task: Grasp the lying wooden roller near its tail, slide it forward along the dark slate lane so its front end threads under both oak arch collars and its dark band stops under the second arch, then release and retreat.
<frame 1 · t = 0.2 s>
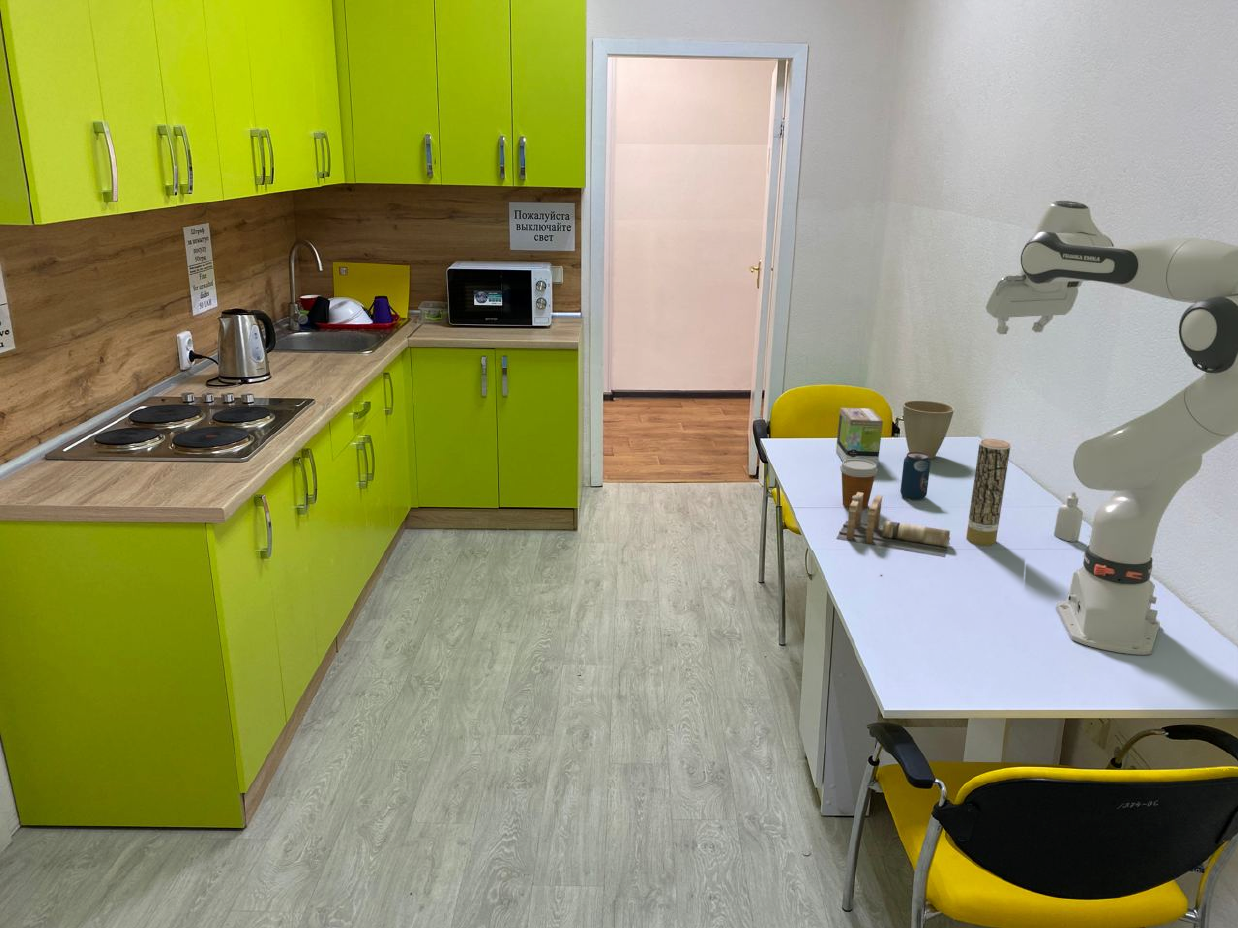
hand: (1018, 332, 212), 52 cm above the table, tool tilted 20°, fingers open, 8 cm apart
collar stand: (893, 540, 231), on the table
eye dropper bottle: (1065, 538, 234), on the table
paper tube: (980, 543, 230), on the table
soda can: (912, 497, 260), on the table
disposable coffee cup: (854, 508, 252), on the table
tea box: (856, 460, 291), on the table
wooden roller: (914, 541, 229), point 1 cm above the table, touching collar stand
plant pot: (922, 456, 296), on the table
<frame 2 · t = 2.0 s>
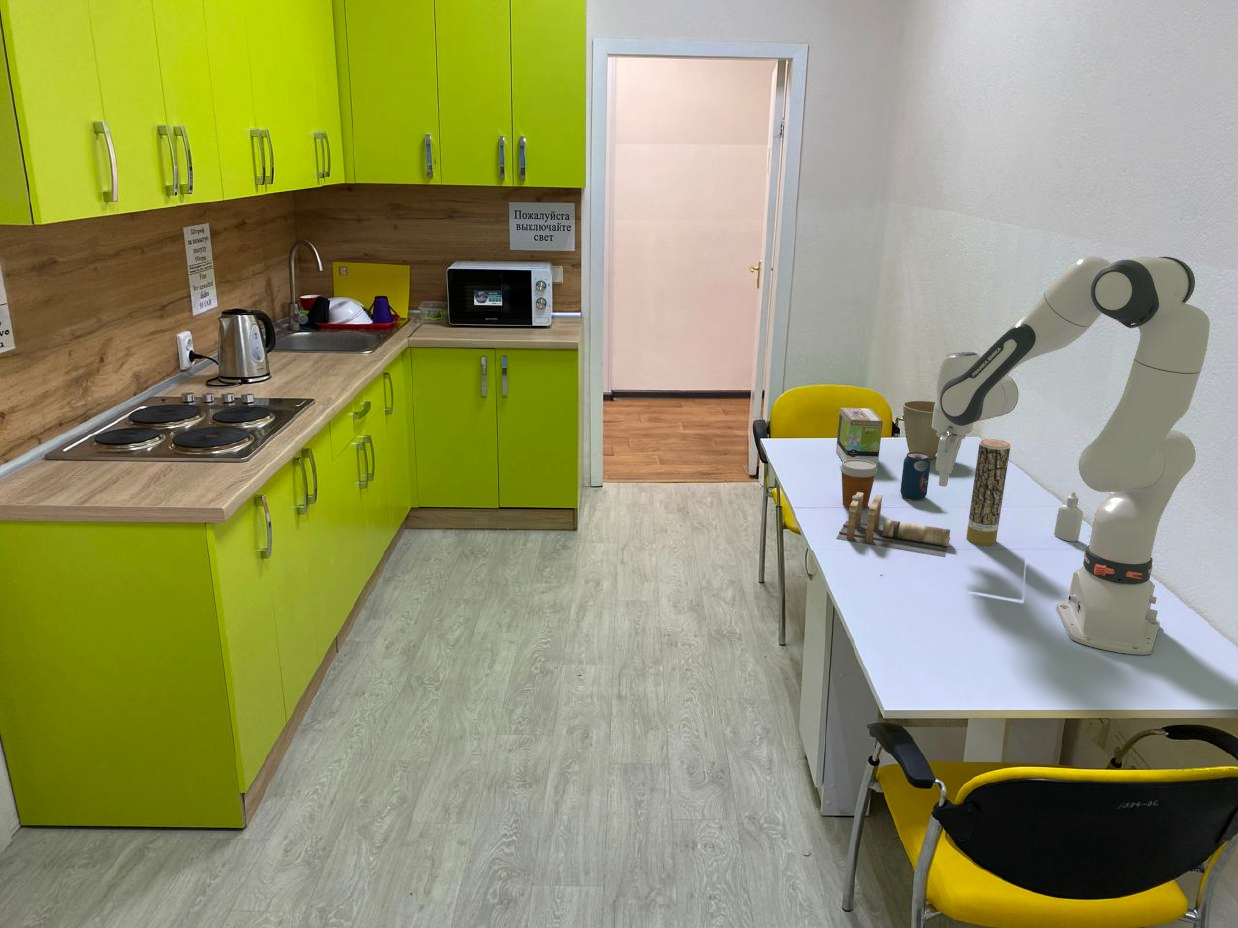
hand: (945, 479, 222), 17 cm above the table, tool pointing down, fingers open, 8 cm apart
wooden roller: (914, 541, 229), point 1 cm above the table, tilted 21°, touching collar stand
everything else where it was.
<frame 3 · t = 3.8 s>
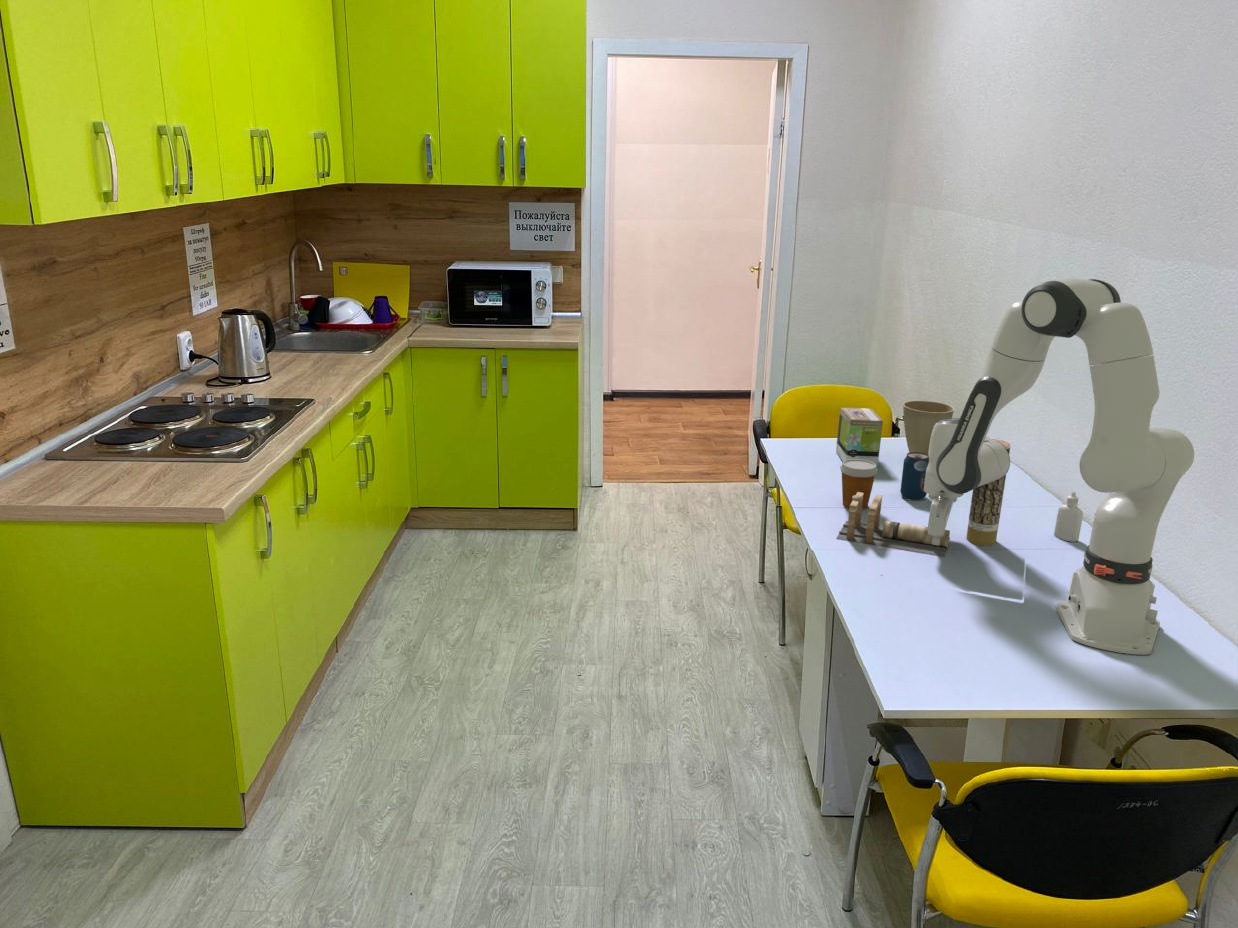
hand: (936, 540, 227), 2 cm above the table, tool pointing down, fingers closed on wooden roller, 4 cm apart
wooden roller: (914, 541, 229), point 1 cm above the table, touching collar stand, gripper
everything else where it was.
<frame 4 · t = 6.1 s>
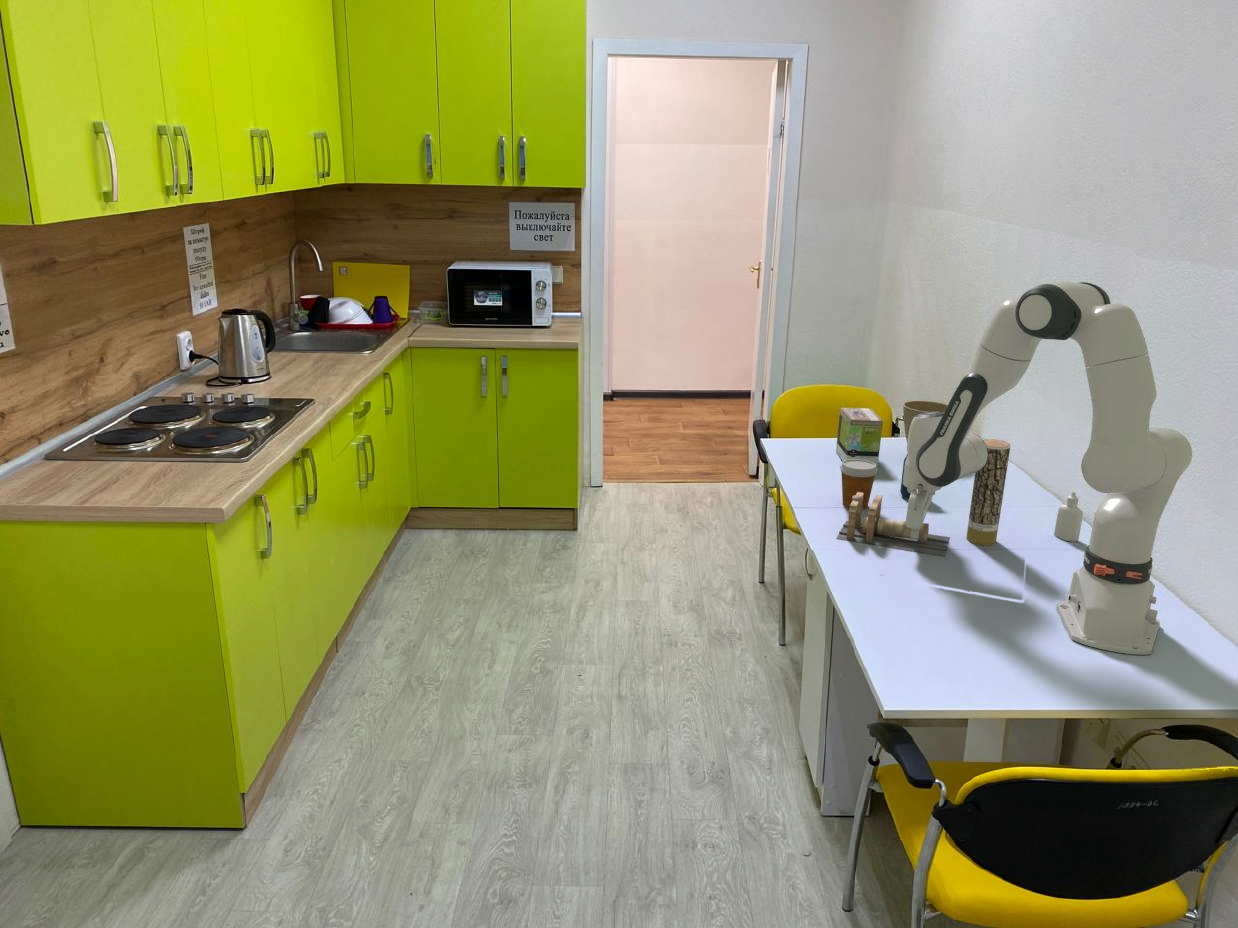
hand: (915, 533, 228), 3 cm above the table, tool pointing down, fingers closed on wooden roller, 4 cm apart
wooden roller: (894, 536, 230), point 1 cm above the table, touching gripper
everything else where it was.
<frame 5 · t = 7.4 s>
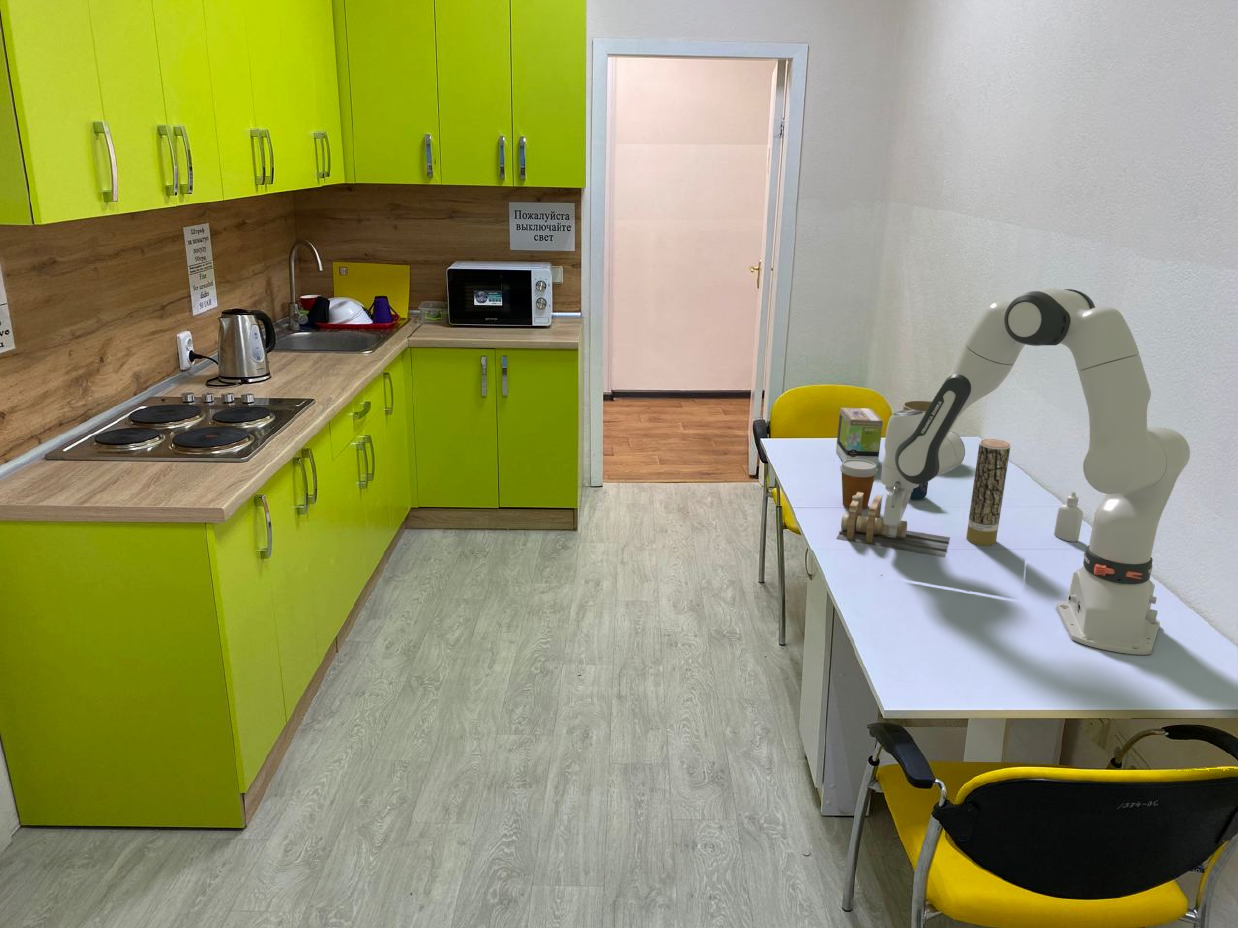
hand: (894, 530, 230), 2 cm above the table, tool pointing down, fingers closed on wooden roller, 4 cm apart
wooden roller: (873, 533, 232), point 1 cm above the table, touching collar stand, gripper
everything else where it was.
when the fingers open (2 cm above the table, at t = 8.3 s): wooden roller stays where it is, resting on collar stand.
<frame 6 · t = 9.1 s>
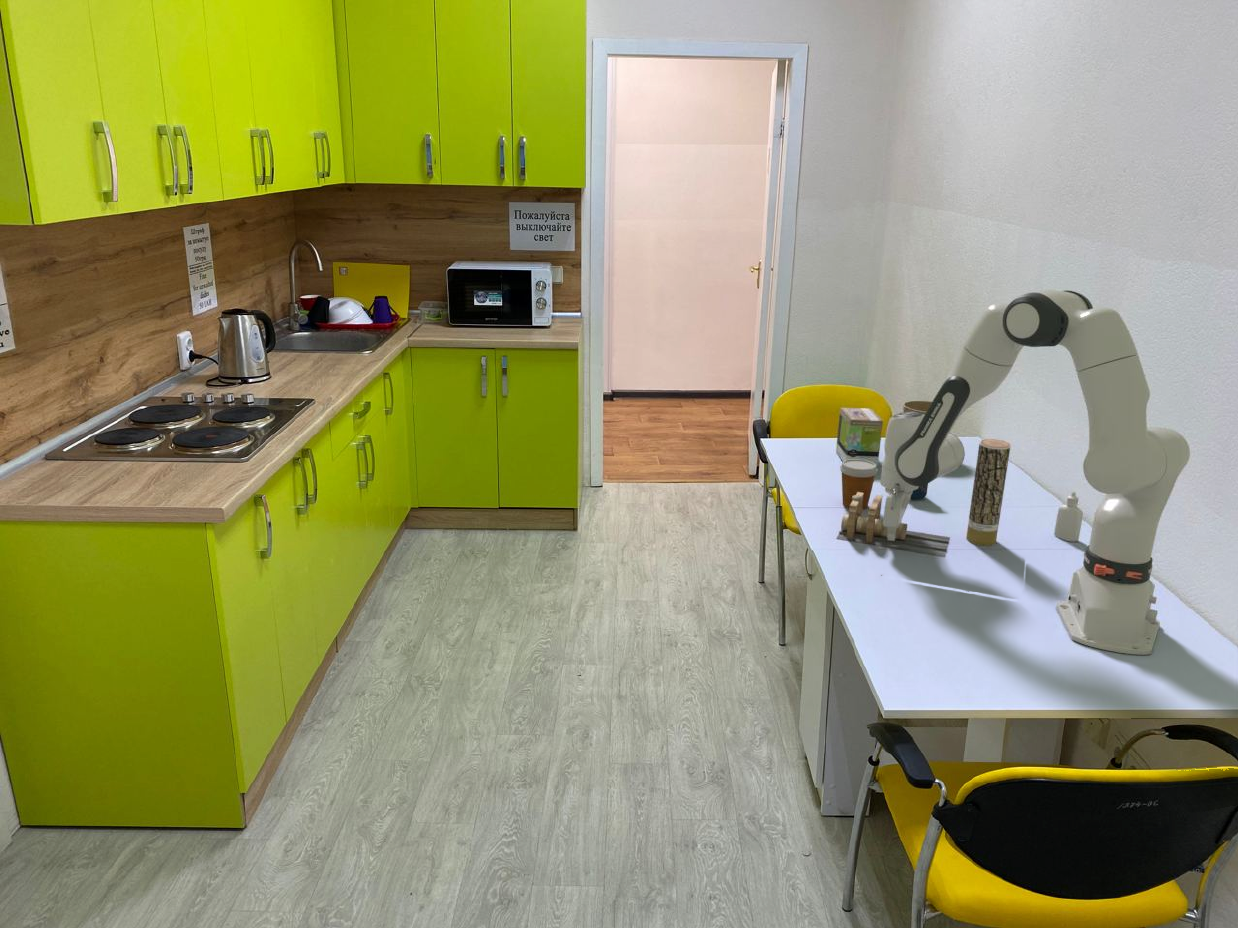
hand: (894, 532, 230), 2 cm above the table, tool pointing down, fingers open, 8 cm apart
wooden roller: (873, 534, 232), point 1 cm above the table, touching collar stand
everything else where it was.
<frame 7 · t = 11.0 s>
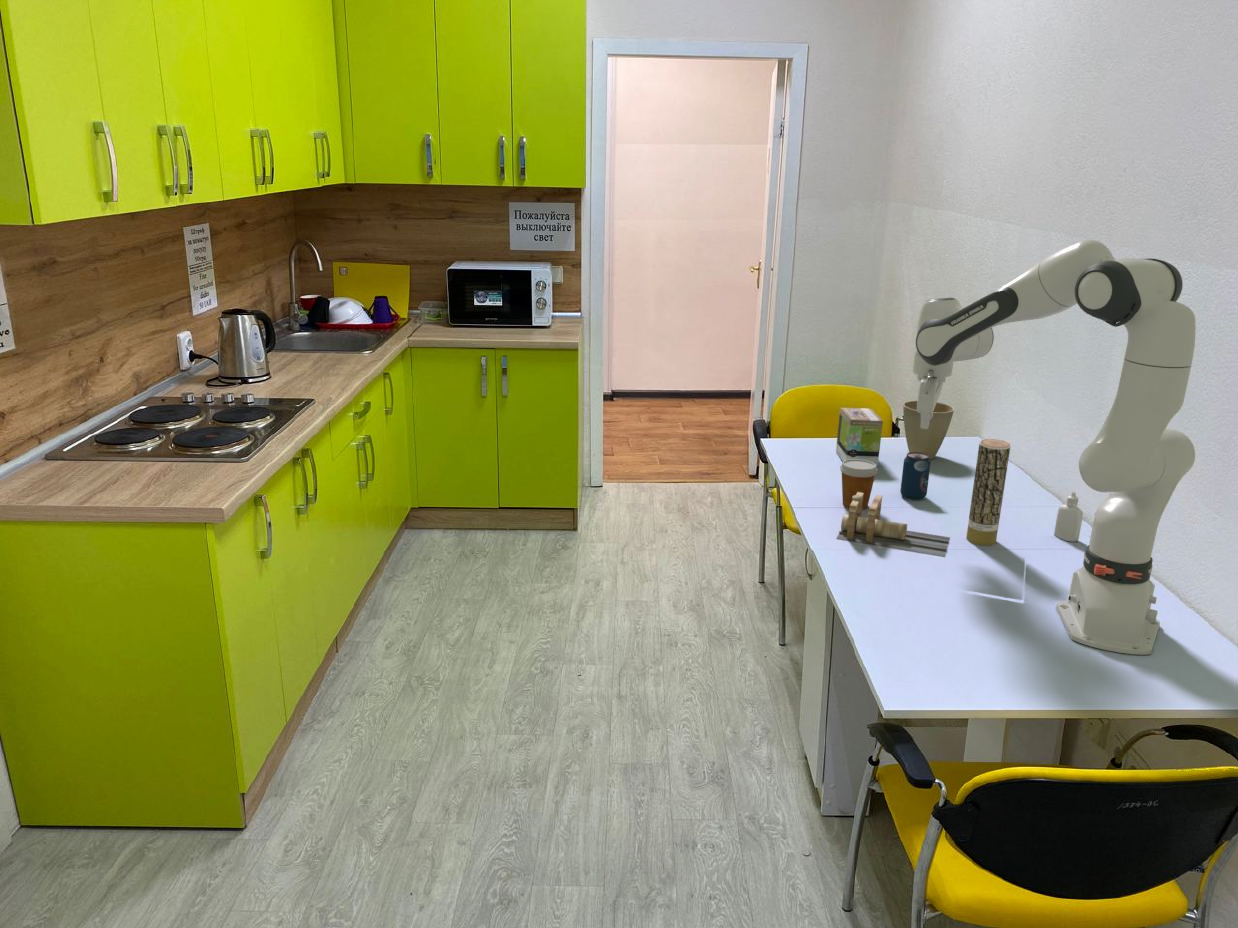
hand: (926, 423, 229), 28 cm above the table, tool pointing down, fingers open, 8 cm apart
nothing on the table moved.
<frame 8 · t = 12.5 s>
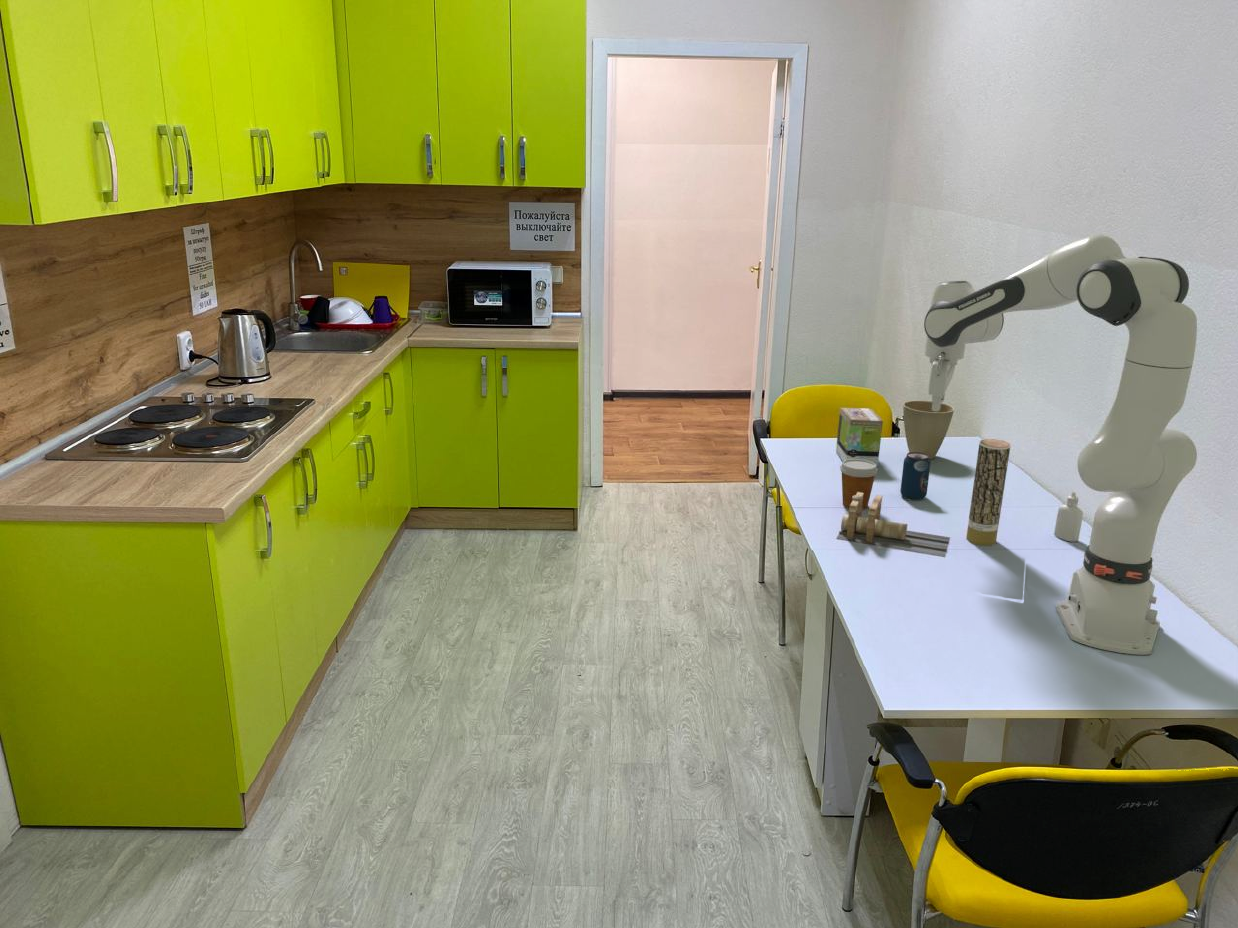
hand: (937, 406, 230), 31 cm above the table, tool pointing down, fingers open, 8 cm apart
nothing on the table moved.
at the end: wooden roller inside the target area (0.5 cm from its centre), point 0.6 cm above the table; the gripper is holding nothing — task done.
